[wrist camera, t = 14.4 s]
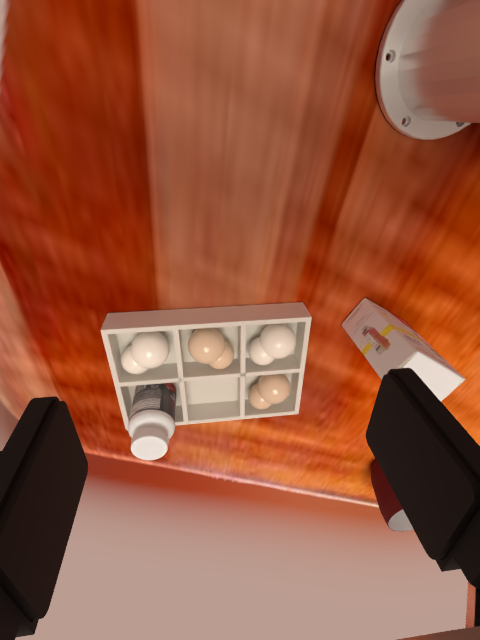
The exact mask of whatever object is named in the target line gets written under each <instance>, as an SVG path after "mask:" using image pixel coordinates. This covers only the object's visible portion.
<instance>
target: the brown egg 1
mask: <svg viewBox="0 0 480 640" xmlns="http://www.w3.org/2000/svg"><path fill="white" fill-rule="evenodd" d="M188 351H189V353H190V355H191V357H192V358H193V359H194V360H196V361H197V362H199V363H203V364H209V365H210V366H211V367H213V368H215V369H224V368H227V367H228V366H229V365H230V364H231V363H232V361H233V359H234V350H233V348H232V346H231V345H230V344H229V343H228V342H226V341H224V338H223V336H222V334H221V333H220V332H219V331H218V330H216V329H215V328H200V329H197V330H195V331H194V332H193V333H192V334H191V336H190V338H189V340H188Z"/></svg>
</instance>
